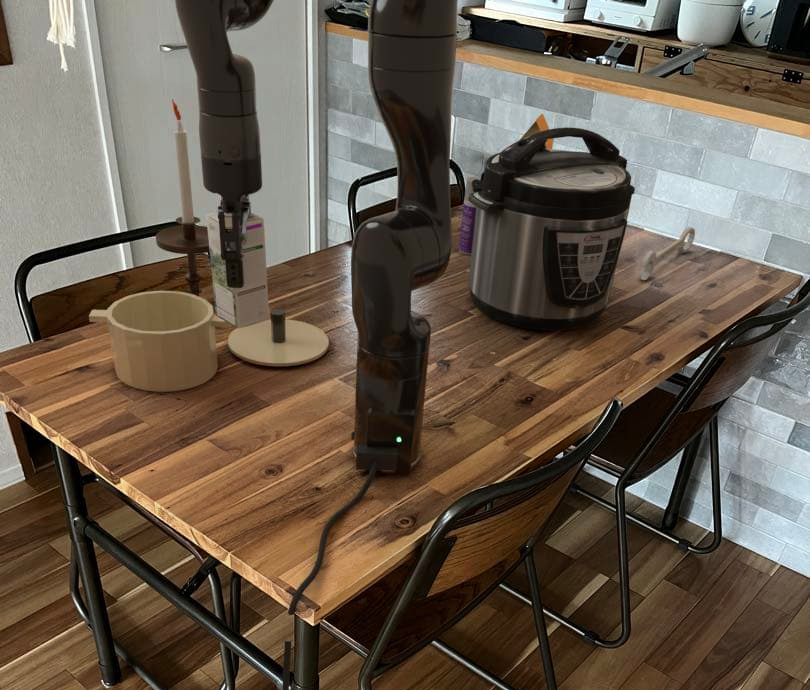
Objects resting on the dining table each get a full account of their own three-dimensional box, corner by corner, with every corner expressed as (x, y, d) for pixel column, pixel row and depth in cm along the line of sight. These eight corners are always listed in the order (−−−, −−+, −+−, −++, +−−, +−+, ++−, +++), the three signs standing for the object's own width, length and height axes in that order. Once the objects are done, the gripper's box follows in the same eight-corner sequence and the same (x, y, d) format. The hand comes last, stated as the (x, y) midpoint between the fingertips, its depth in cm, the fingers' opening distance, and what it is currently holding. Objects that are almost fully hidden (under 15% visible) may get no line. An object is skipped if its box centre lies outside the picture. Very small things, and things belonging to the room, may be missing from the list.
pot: (229, 394, 128) (224, 336, 123) (87, 389, 127) (76, 330, 121) (239, 348, 141) (236, 293, 135) (110, 343, 139) (101, 287, 133)
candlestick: (179, 336, 143) (154, 109, 121) (156, 311, 150) (129, 93, 128) (238, 324, 148) (225, 104, 126) (213, 301, 155) (196, 89, 133)
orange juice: (507, 204, 213) (519, 117, 200) (515, 194, 219) (527, 110, 207) (538, 209, 211) (552, 122, 199) (544, 199, 218) (558, 115, 205)
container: (456, 253, 183) (464, 180, 173) (461, 246, 186) (469, 175, 177) (477, 256, 182) (486, 184, 173) (482, 249, 185) (491, 178, 176)
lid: (327, 371, 136) (328, 336, 132) (222, 367, 135) (219, 331, 131) (329, 327, 149) (330, 293, 145) (233, 323, 148) (231, 289, 144)
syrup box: (271, 320, 121) (266, 216, 112) (236, 330, 117) (229, 224, 108) (247, 307, 124) (241, 205, 115) (213, 316, 121) (204, 212, 112)
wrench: (645, 285, 175) (652, 256, 172) (635, 282, 176) (642, 253, 173) (691, 250, 194) (698, 224, 190) (681, 248, 195) (689, 222, 191)
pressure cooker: (453, 330, 152) (474, 140, 132) (460, 272, 174) (479, 103, 154) (620, 347, 151) (666, 159, 131) (606, 287, 173) (643, 118, 153)
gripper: (208, 134, 112) (217, 256, 122) (192, 163, 101) (204, 294, 111) (264, 137, 113) (270, 258, 123) (255, 166, 101) (262, 296, 111)
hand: (238, 275), depth 117 cm, fingers closed on syrup box, 8 cm apart
